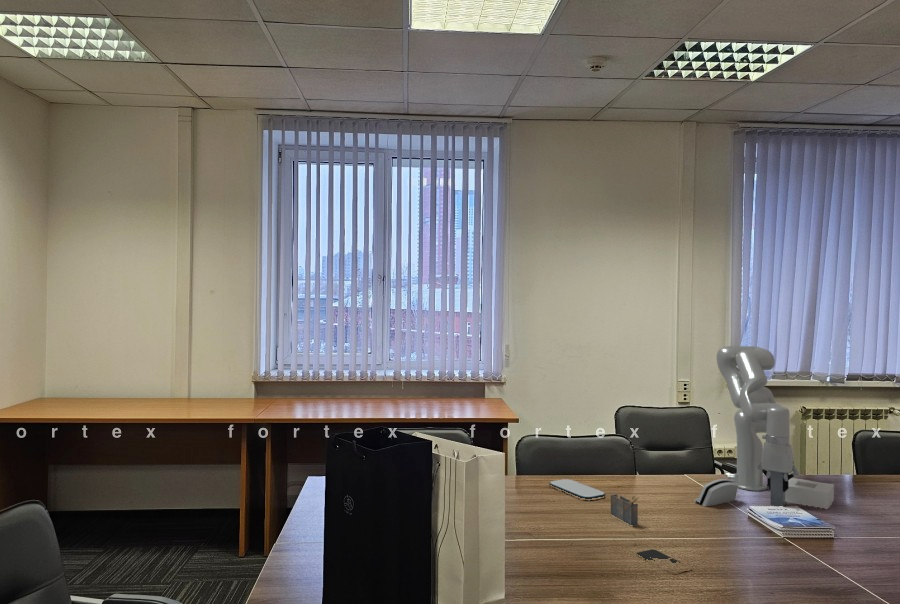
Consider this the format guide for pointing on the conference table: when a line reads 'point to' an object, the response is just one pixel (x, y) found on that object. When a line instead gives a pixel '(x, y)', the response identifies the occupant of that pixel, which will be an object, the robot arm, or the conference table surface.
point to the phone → (655, 555)
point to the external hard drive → (577, 489)
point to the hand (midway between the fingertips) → (777, 489)
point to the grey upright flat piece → (625, 509)
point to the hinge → (717, 492)
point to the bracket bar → (777, 489)
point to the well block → (809, 493)
